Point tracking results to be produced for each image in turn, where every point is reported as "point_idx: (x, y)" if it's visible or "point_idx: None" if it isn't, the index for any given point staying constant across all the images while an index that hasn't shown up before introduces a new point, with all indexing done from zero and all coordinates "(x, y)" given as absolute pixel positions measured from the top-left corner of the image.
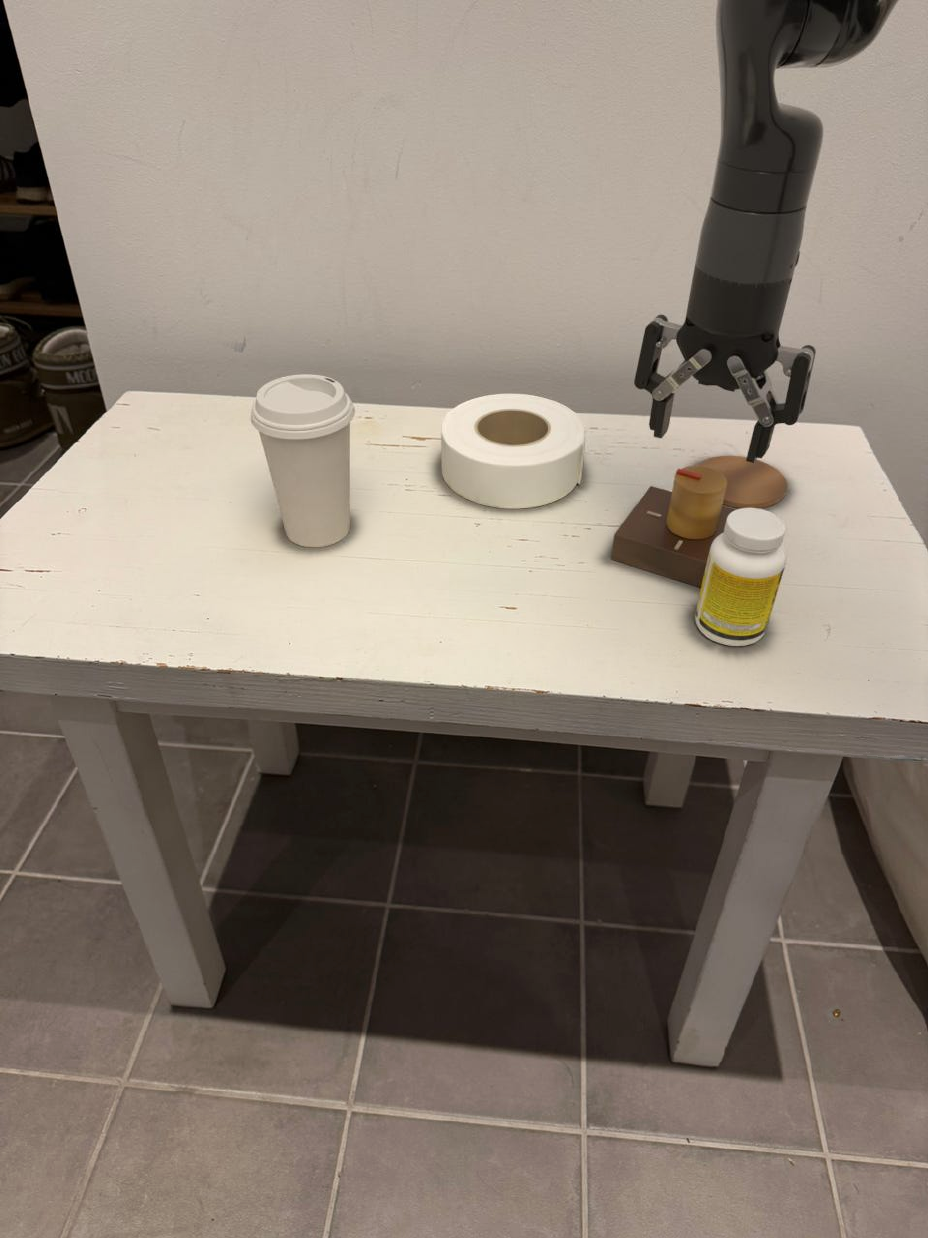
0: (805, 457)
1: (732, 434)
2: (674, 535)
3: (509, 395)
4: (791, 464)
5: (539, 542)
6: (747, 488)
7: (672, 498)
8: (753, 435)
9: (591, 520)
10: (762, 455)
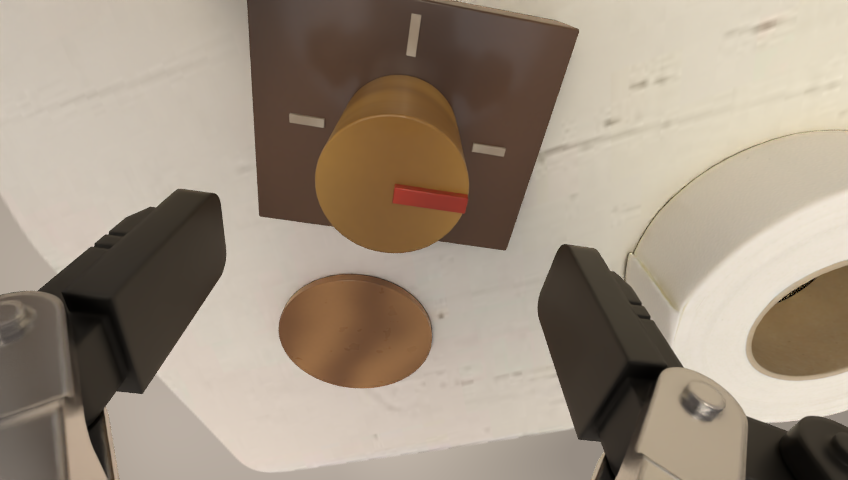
0: (282, 410)
1: (393, 429)
2: (430, 79)
3: (819, 412)
4: (296, 392)
5: (725, 30)
6: (337, 319)
7: (458, 137)
8: (143, 258)
9: (603, 153)
10: (140, 213)
